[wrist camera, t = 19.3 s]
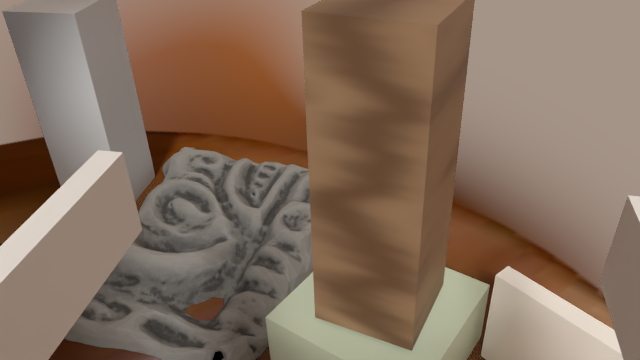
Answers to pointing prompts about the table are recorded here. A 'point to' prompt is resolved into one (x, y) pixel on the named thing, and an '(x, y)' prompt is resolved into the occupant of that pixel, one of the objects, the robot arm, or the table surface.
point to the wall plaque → (206, 260)
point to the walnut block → (382, 156)
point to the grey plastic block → (81, 83)
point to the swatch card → (541, 325)
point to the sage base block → (370, 353)
